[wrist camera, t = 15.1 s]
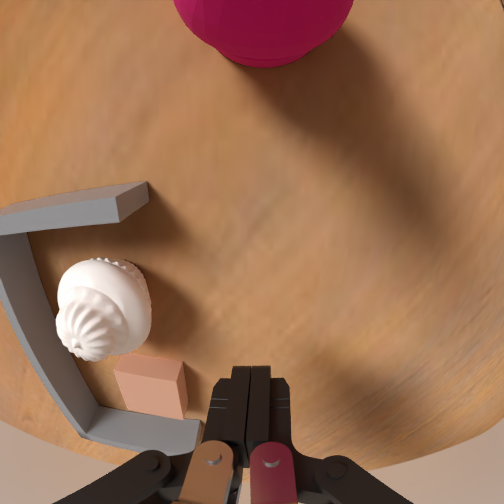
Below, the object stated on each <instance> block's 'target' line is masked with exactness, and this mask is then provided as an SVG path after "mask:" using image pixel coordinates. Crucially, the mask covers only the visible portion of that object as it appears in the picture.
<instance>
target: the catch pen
mask: <svg viewBox="0 0 504 504" xmlns="http://www.w3.org/2000/svg"><path fill="white" fill-rule="evenodd" d="M148 202H149V194H148V186H147V181H143V182H135V183H127V184H120V185H113V186H106V187H99V188H93V189H87V190H81V191H75V192H69V193H64V194H58V195H53V196H48V197H43V198H38V199H33V200H28V201H24V202H19V203H15V204H11V205H9V206H6V207H4V208H2V209H0V300H1V302H2V305H3V307H4V310H5V312H6V314H7V317H8V319H9V321H10V323H11V325H12V327H13V330H14V332H15V334H16V336H17V338H18V340H19V342H20V344H21V346H22V348H23V349H24V351H25V353H26V355H27V357H28V359H29V360H30V362H31V364H32V366H33V368H34V369H35V371H36V373H37V374H38V376H39V378H40V379H41V381H42V383H43V384H44V386H45V387H46V389H47V390H48V392H49V394H50V395H51V397H52V398H53V400H54V401H55V402H56V404H57V405H58V407H59V408H60V410H61V411H62V412H63V414H64V415H65V417H66V418H67V419H68V421H69V422H70V423H71V425H72V426H73V427H74V429H75V430H76V431H77V432H78V434H79V435H80V436H81V437H82V438H85V439H88V440H91V441H95V442H99V443H102V444H106V445H110V446H114V447H118V448H123V449H127V450H132V451H137V452H143V451H146V450H159V451H161V452H163V453H165V454H166V455H167V456H173V455H180V454H185V453H189V452H191V451H193V450H194V449H196V448H197V446H199V440H200V435H201V429H202V425H201V422H200V420H193V419H184V420H180V419H173V418H167V417H162V416H156V415H148V414H141V413H135V412H129V411H123V410H118V409H113V408H108V407H103V406H99V404H98V403H97V401H96V399H95V398H94V396H93V394H92V393H91V391H90V389H89V387H88V386H87V384H86V382H85V380H84V378H83V376H82V375H81V373H80V371H79V369H78V367H77V365H76V363H75V361H74V359H73V357H72V355H71V353H70V352H69V350H68V347H66V346H64V345H63V343H62V341H61V339H60V338H59V336H58V334H57V327H56V320H55V317H54V315H53V312H52V310H51V307H50V305H49V302H48V299H47V297H46V294H45V291H44V288H43V285H42V283H41V280H40V277H39V274H38V270H37V267H36V264H35V261H34V257H33V254H32V250H31V247H30V243H29V239H28V236H27V232H31V231H39V230H48V229H57V228H66V227H76V226H86V225H96V224H107V223H119V222H121V221H122V220H124V219H125V218H126V217H128V216H129V215H131V214H132V213H134V212H135V211H136V210H138V209H139V208H141V207H142V206H144V205H145V204H147V203H148Z"/></svg>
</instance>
